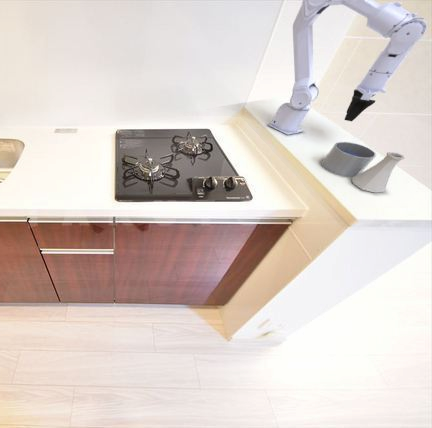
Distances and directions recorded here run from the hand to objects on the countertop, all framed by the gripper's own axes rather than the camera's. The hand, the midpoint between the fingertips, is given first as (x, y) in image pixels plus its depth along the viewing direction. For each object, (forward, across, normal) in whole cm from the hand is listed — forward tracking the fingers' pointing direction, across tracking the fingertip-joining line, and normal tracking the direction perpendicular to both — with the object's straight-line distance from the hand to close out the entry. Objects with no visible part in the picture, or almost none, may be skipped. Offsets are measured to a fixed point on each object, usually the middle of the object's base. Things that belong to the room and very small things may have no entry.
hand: (349, 116), depth 78 cm
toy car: (+9, -19, -4) cm, 21 cm away
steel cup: (+9, -19, -4) cm, 21 cm away
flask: (+10, -25, -11) cm, 29 cm away
